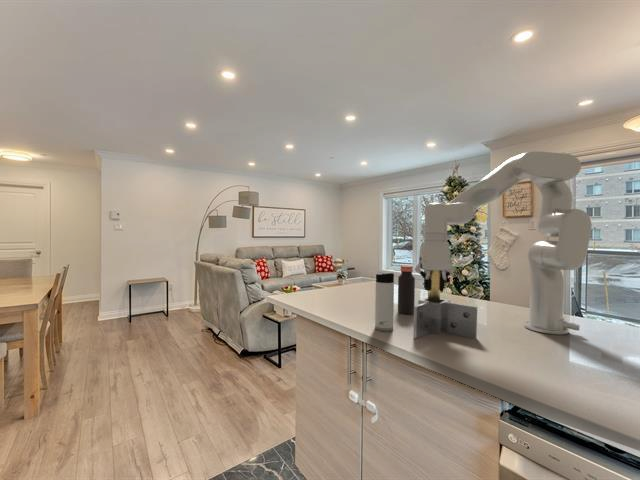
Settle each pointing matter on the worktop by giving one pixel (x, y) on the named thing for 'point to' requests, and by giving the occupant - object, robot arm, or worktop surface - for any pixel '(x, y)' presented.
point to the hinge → (444, 318)
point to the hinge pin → (434, 286)
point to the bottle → (406, 290)
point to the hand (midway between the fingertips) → (434, 289)
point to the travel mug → (384, 302)
